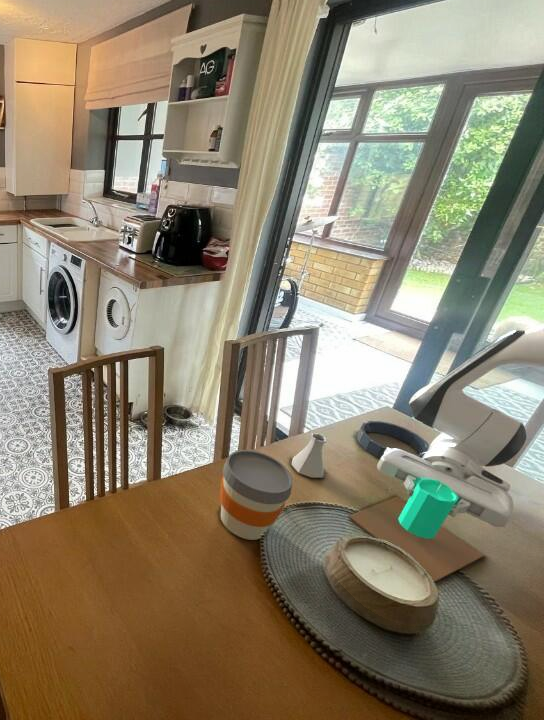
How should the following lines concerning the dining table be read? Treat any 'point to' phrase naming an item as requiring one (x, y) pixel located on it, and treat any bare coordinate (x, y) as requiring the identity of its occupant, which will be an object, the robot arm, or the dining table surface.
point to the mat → (417, 539)
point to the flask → (311, 458)
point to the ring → (392, 431)
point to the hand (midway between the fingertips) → (430, 502)
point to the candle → (427, 508)
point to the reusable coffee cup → (253, 492)
